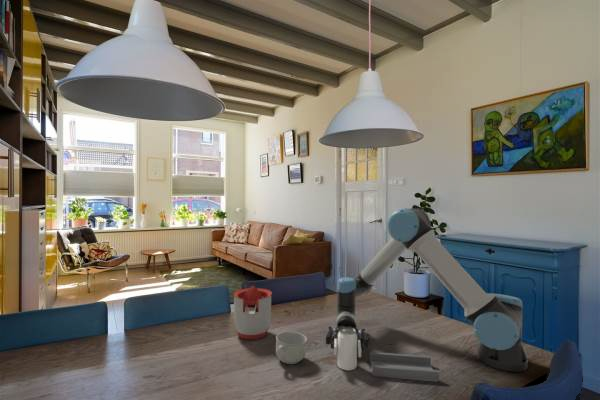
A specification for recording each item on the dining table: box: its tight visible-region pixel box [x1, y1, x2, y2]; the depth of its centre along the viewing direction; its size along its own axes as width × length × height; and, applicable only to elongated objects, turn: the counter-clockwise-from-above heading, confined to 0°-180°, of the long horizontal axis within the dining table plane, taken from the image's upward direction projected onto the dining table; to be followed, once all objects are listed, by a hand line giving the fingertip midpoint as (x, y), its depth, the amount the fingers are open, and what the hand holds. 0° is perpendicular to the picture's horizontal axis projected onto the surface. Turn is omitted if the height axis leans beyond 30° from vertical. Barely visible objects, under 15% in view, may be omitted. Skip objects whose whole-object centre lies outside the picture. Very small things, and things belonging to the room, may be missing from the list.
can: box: [336, 327, 358, 372], centre depth 110 cm, size 6×6×12 cm
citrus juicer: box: [233, 285, 273, 340], centre depth 134 cm, size 16×17×20 cm
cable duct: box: [369, 351, 440, 383], centre depth 108 cm, size 20×10×3 cm, turn 83°
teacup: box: [275, 331, 308, 365], centre depth 113 cm, size 14×11×8 cm
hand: (347, 352), depth 105 cm, fingers open, 7 cm apart
